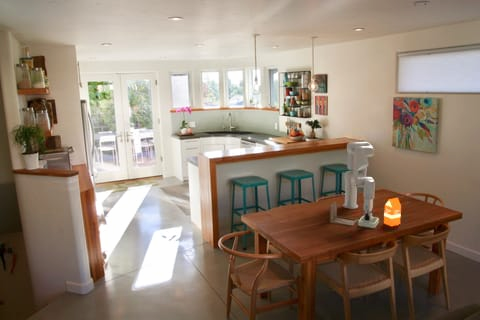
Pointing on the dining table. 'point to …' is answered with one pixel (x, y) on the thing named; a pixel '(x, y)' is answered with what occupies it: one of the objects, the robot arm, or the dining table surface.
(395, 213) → the orange juice
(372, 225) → the sage bin
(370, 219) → the stone cube
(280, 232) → the dining table surface
